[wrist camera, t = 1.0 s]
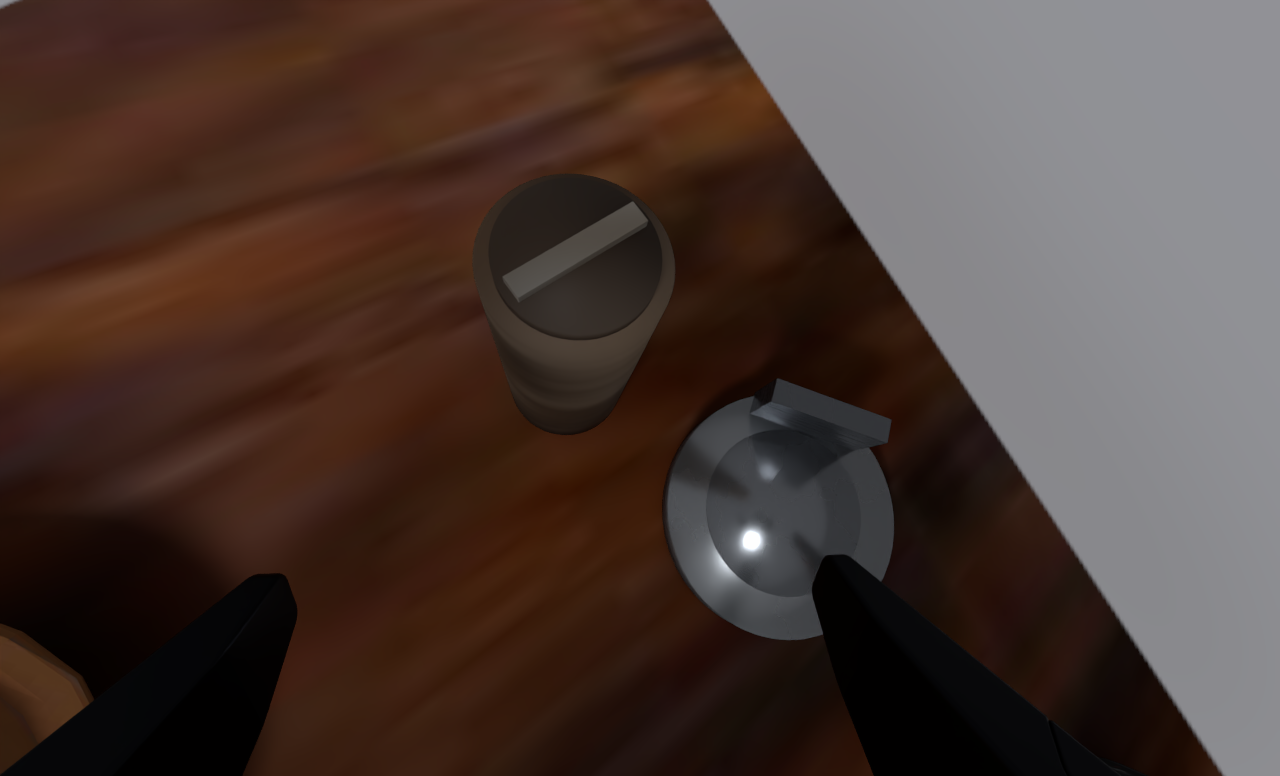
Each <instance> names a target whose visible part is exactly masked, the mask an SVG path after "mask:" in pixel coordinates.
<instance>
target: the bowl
mask: <svg viewBox="0 0 1280 776" xmlns="http://www.w3.org/2000/svg"><path fill="white" fill-rule="evenodd" d="M890 426H891V419H888V418H886V417H883V416H880V415H877V414H875V413H872V412H869V411H866V410H864V409H861V408H858V407H855V406H853V405H850V404H847V403H844V402H842V401H839V400H836V399H833V398H831V397H828V396H825V395H822V394H820V393H817V392H814V391H811V390H809V389H806V388H803V387H800V386H798V385H795V384H792V383H789V382H787V381H784V380H781V379H778V378H777V379H775V380H774V381H772V382H771V383H769V384H767V385H766V386H764V387H763V388H761V389H760V390H758V391H757V392H755V394H754V396H752V397H749V398H745V399H741V400H738V401H736V402H733V403H731V404H729V405H727V406H725V407H723V408H721V409H720V410H718V411H716V412H715V413H713V414H712V415H710V416H709V417H707V418H706V419H705V420H704V421H702V422H701V423H700V424H699V425H697V426H696V427H695V428H694V429H693V431H692V432H691V433H690V434H689V435H688V436H687V437H686V439H685V440H684V441H683V443H682V444H681V445H680V447H679V448H678V450H677V452H676V454H675V456H674V458H673V460H672V462H671V465H670V468H669V470H668V473H667V476H666V481H665V485H664V490H663V500H662V520H663V527H664V534H665V538H666V542H667V545H668V549H669V552H670V555H671V557H672V559H673V562H674V564H675V567H676V568H677V570H678V572H679V573H680V575H681V577H682V579H683V580H684V582H685V583H686V584H687V586H688V587H689V588H690V590H691V591H692V592H693V594H694V595H695V596H696V597H697V598H698V599H699V600H700V601H701V602H702V603H703V604H704V605H705V606H707V607H708V608H709V609H710V610H712V611H713V612H714V613H716V614H717V615H718V616H720V617H722V618H724V619H725V620H727V621H729V622H730V623H732V624H734V625H736V626H737V627H739V628H741V629H743V630H746V631H748V632H751V633H753V634H756V635H759V636H763V637H768V638H772V639H782V640H797V639H806V638H811V637H816V636H819V635H822V634H823V632H822V628H821V625H820V621H819V618H818V615H817V611H816V608H815V604H814V601H813V597H812V584H813V581H814V578H815V576H816V573H817V571H818V568H819V566H820V563H821V561H822V559H823V558H824V557H825V556H826V555H836V554H844V555H848V556H850V557H851V558H853V559H854V560H855V561H856V562H857V563H859V564H860V565H861V566H862V567H864V568H865V569H866V570H867V571H869V572H870V573H871V574H872V575H873V576H875V577H876V578H877V579H878V580H880V581H882V579H883V577H884V575H885V572H886V569H887V566H888V564H889V560H890V556H891V551H892V546H893V536H894V515H893V507H892V500H891V496H890V492H889V489H888V485H887V482H886V480H885V477H884V474H883V472H882V470H881V468H880V466H879V464H878V462H877V460H876V458H875V456H874V455H873V453H872V452H871V450H870V449H869V447H872V446H876V445H881V444H885V443H888V437H889V431H890Z"/></svg>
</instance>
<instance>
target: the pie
mask: <svg viewBox="0 0 1280 776" xmlns="http://www.w3.org/2000/svg"><path fill="white" fill-rule="evenodd" d="M93 700H94V698H93V696H92V694H91V692H90V690H89V688H88V686H87V684H86V682H85V680H84V678H83V676H81V675H80V674H79V673H77V672H76V671H75V670H73V669H72V668H71V667H69V666H68V665H67V664H65V663H64V662H63V661H61V660H60V659H59V658H57V657H56V656H55V655H53V654H52V653H51V652H49V651H48V650H47V649H45V648H44V647H43V646H41V645H40V644H39V643H37V642H36V641H35V640H33V639H32V638H31V637H29V636H28V635H27V634H25V633H24V632H22V631H19V630H17V629H14V628H11V627H9V626H6V625H3V624H1V623H0V774H1V773H3V772H4V771H5V770H6V769H8V768H9V767H10V766H11V765H13V764H14V763H15V762H16V761H18V760H19V759H20V758H22V757H23V756H24V755H25V754H27V753H28V752H29V751H30V750H32V749H33V748H34V747H35V746H37V745H38V744H39V743H40V742H42V741H43V740H44V739H46V738H47V737H48V736H49V735H51V734H52V733H53V732H54V731H56V730H57V729H58V728H59V727H61V726H62V725H63V724H64V723H66V722H67V721H68V720H69V719H71V718H72V717H73V716H75V715H76V714H77V713H78V712H80V711H81V710H82V709H83V708H85V707H86V706H87V705H88V704H90V703H91V702H92V701H93Z"/></svg>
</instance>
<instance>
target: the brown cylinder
mask: <svg viewBox="0 0 1280 776" xmlns="http://www.w3.org/2000/svg"><path fill="white" fill-rule="evenodd" d="M473 272H474V279H475V282H476V286H477V289H478V292H479V295H480V299H481V302H482V305H483V308H484V311H485V314H486V317H487V320H488V323H489V326H490V329H491V332H492V335H493V338H494V341H495V344H496V347H497V350H498V353H499V356H500V359H501V362H502V365H503V368H504V371H505V374H506V377H507V380H508V383H509V386H510V389H511V392H512V395H513V398H514V401H515V403H516V405H517V407H518V409H519V410H520V412H521V413H522V414H523V416H524V417H525V418H526V419H527V420H528V421H529V422H530V423H532V424H533V425H535V426H536V427H538V428H540V429H542V430H544V431H547V432H550V433H554V434H560V435H573V434H579V433H582V432H586V431H588V430H590V429H592V428H594V427H596V426H597V425H599V424H600V423H601V422H602V421H604V420H605V419H606V418H607V417H608V415H609V414H610V413H611V411H612V410H613V408H614V406H615V405H616V403H617V401H618V399H619V397H620V395H621V393H622V391H623V389H624V387H625V385H626V384H627V382H628V380H629V378H630V376H631V374H632V372H633V370H634V368H635V366H636V364H637V362H638V360H639V359H640V357H641V355H642V353H643V351H644V349H645V347H646V345H647V343H648V341H649V339H650V337H651V336H652V334H653V332H654V330H655V328H656V326H657V324H658V322H659V320H660V318H661V316H662V314H663V313H664V311H665V309H666V307H667V305H668V303H669V300H670V297H671V294H672V291H673V286H674V281H675V260H674V254H673V250H672V246H671V243H670V240H669V237H668V235H667V233H666V231H665V229H664V227H663V225H662V224H661V222H660V221H659V219H658V218H657V217H656V215H655V214H654V213H653V212H652V211H651V209H650V208H649V207H648V206H647V205H646V204H645V203H644V202H642V201H641V200H640V199H639V198H638V197H636V196H635V195H634V194H632V193H631V192H629V191H628V190H626V189H624V188H622V187H620V186H619V185H617V184H614V183H612V182H609V181H607V180H604V179H600V178H597V177H593V176H587V175H581V174H556V175H550V176H544V177H540V178H537V179H534V180H531V181H528V182H526V183H524V184H522V185H520V186H518V187H516V188H515V189H513V190H511V191H510V192H508V193H507V194H506V195H505V196H503V197H502V198H501V199H500V200H499V201H498V202H497V203H496V204H495V205H494V206H493V207H492V208H491V209H490V211H489V212H488V214H487V215H486V217H485V218H484V220H483V222H482V224H481V226H480V228H479V230H478V233H477V236H476V239H475V243H474V249H473Z"/></svg>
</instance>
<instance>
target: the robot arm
mask: <svg viewBox="0 0 1280 776" xmlns="http://www.w3.org/2000/svg"><path fill="white" fill-rule="evenodd" d="M812 597H813V601H814V604H815V608H816V611H817V615H818V618H819V621H820V625H821V628H822V632H823V635H824V639H825V642H826V646H827V649H828V653H829V656H830V660H831V663H832V667H833V670H834V673H835V676H836V680H837V683H838V685H839V688H840V691H841V693H842V696H843V699H844V701H845V704H846V706H847V709H848V711H849V714H850V716H851V719H852V721H853V724H854V727H855V729H856V732H857V734H858V737H859V739H860V742H861V744H862V747H863V749H864V752H865V754H866V757H867V759H868V762H869V765H870V767H871V770H872V772H873V775H874V776H1121V775H1120V774H1118V773H1117V772H1116V771H1114V770H1113V769H1112V768H1111V767H1109V766H1108V765H1107V764H1106V763H1104V762H1103V761H1102V760H1101V759H1099V758H1098V757H1097V756H1095V755H1094V754H1093V753H1092V752H1090V751H1089V750H1088V749H1087V748H1085V747H1084V746H1083V745H1082V744H1080V743H1079V742H1078V741H1077V740H1075V739H1074V738H1073V737H1072V736H1070V735H1069V734H1068V733H1067V732H1065V731H1064V730H1063V729H1062V728H1061V727H1059V726H1058V725H1057V724H1056V723H1054V722H1053V721H1051V720H1049V721H1048V719H1047V717H1046V716H1045V715H1044V714H1043V713H1042V712H1041V711H1039V710H1038V709H1037V708H1036V707H1035V706H1033V705H1032V704H1031V703H1030V702H1028V701H1027V700H1026V699H1025V698H1023V697H1022V696H1021V695H1020V694H1019V693H1017V692H1016V691H1015V690H1014V689H1012V688H1011V687H1010V686H1009V685H1007V684H1006V683H1005V682H1004V681H1003V680H1001V679H1000V678H999V677H998V676H996V675H995V674H994V673H993V672H991V671H990V670H989V669H988V668H987V667H985V666H984V665H983V664H982V663H980V662H979V661H978V660H977V659H975V658H974V657H973V656H972V655H971V654H969V653H968V652H967V651H966V650H964V649H963V648H962V647H961V646H960V645H958V644H957V643H956V642H955V641H953V640H952V639H951V638H950V637H948V636H947V635H946V634H945V633H944V632H942V631H941V630H940V629H939V628H937V627H936V626H935V625H934V624H932V623H931V622H930V621H929V620H928V619H926V618H925V617H924V616H923V615H921V614H920V613H919V612H918V611H916V610H915V609H914V608H913V607H912V606H910V605H909V604H908V603H907V602H905V601H904V600H903V599H902V598H901V597H899V596H898V595H897V594H896V593H894V592H893V591H892V590H891V589H889V588H888V587H887V586H886V585H885V584H883V583H882V582H881V581H880V580H878V579H877V578H876V577H875V576H873V575H872V574H871V573H870V572H869V571H867V570H866V569H865V568H864V567H862V566H861V565H860V564H859V563H857V562H856V561H855V560H854V559H853V558H851V557H850V556H848V555H844V554H836V555H826V556H825V557H824V558H823V559H822V561H821V563H820V566H819V568H818V571H817V573H816V576H815V578H814V581H813V584H812ZM296 620H297V605H296V602H295V599H294V597H293V594H292V591H291V588H290V586H289V583H288V580H287V578H286V576H284V575H283V574H280V573H271V574H256V575H253V576H251V577H249V578H248V579H246V580H245V581H244V582H242V583H241V584H240V585H239V586H237V587H236V588H235V589H234V590H232V591H231V592H230V593H228V594H227V595H226V596H225V597H223V598H222V599H221V600H220V601H218V602H217V603H216V604H215V605H213V606H212V607H211V608H210V609H208V610H207V611H206V612H205V613H203V614H202V615H201V616H199V617H198V618H197V619H196V620H194V621H193V622H192V623H191V624H189V625H188V626H187V627H186V628H184V629H183V630H182V631H181V632H179V633H178V634H177V635H175V636H174V637H173V638H172V639H170V640H169V641H168V642H167V643H165V644H164V645H163V646H162V647H160V648H159V649H158V650H157V651H155V652H154V653H153V654H152V655H150V656H149V657H148V658H146V659H145V660H144V661H143V662H141V663H140V664H139V665H138V666H136V667H135V668H134V669H133V670H131V671H130V672H129V673H128V674H126V675H125V676H124V677H122V678H121V679H120V680H119V681H117V682H116V683H115V684H114V685H112V686H111V687H110V688H109V689H107V690H106V691H105V692H104V693H102V694H101V695H100V696H99V697H97V698H96V699H95V700H93V701H92V702H91V703H90V704H88V705H87V706H86V707H85V708H83V709H82V710H81V711H80V712H78V713H77V714H76V715H75V716H73V717H72V718H71V719H69V720H68V721H67V722H66V723H64V724H63V725H62V726H61V727H59V728H58V729H57V730H56V731H54V732H53V733H52V734H51V735H49V736H48V737H47V738H46V739H44V740H43V741H42V742H40V743H39V744H38V745H37V746H35V747H34V748H33V749H32V750H30V751H29V752H28V753H27V754H25V755H24V756H23V757H22V758H20V759H19V760H18V761H16V762H15V763H14V764H13V765H11V766H10V767H9V768H8V769H6V770H5V771H4V772H3V773H1V774H0V776H242V775H243V772H244V770H245V768H246V765H247V763H248V761H249V758H250V756H251V754H252V751H253V749H254V747H255V744H256V742H257V739H258V737H259V735H260V732H261V730H262V727H263V724H264V722H265V719H266V716H267V713H268V710H269V707H270V704H271V700H272V697H273V694H274V691H275V688H276V685H277V681H278V678H279V675H280V672H281V669H282V665H283V662H284V659H285V656H286V653H287V649H288V646H289V643H290V640H291V637H292V633H293V630H294V627H295V624H296Z"/></svg>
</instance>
